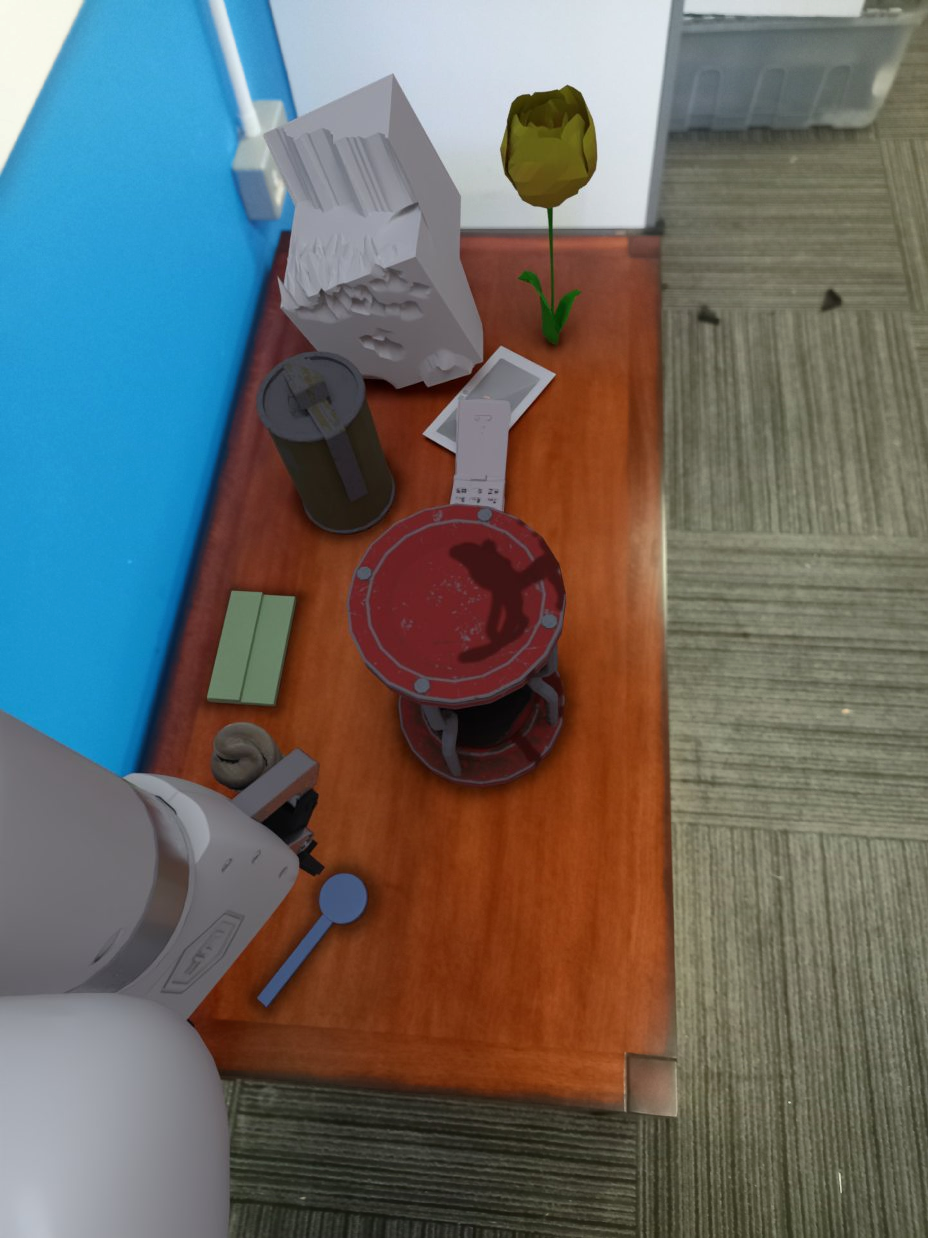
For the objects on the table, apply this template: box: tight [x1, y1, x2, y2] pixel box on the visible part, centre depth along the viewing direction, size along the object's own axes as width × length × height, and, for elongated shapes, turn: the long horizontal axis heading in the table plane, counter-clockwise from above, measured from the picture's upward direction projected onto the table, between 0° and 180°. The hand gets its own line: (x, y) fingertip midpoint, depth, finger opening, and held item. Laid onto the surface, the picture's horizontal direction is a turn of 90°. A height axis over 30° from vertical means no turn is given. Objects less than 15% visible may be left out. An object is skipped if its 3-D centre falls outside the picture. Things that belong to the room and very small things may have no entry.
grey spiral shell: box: [210, 721, 287, 794], centre depth 79 cm, size 6×6×15 cm
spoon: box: [256, 872, 369, 1008], centre depth 80 cm, size 13×4×1 cm, turn 142°
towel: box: [206, 590, 298, 707], centre depth 92 cm, size 12×7×1 cm, turn 174°
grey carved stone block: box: [262, 73, 484, 390], centre depth 97 cm, size 20×16×25 cm
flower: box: [499, 84, 598, 346], centre depth 92 cm, size 9×8×30 cm
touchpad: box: [422, 345, 557, 454], centre depth 101 cm, size 8×15×2 cm, turn 143°
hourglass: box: [346, 503, 567, 789], centre depth 76 cm, size 16×16×25 cm
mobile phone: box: [449, 399, 511, 512], centre depth 93 cm, size 6×6×25 cm
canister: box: [255, 350, 396, 535], centre depth 90 cm, size 11×10×20 cm
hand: (237, 931), depth 45 cm, fingers open, 9 cm apart
